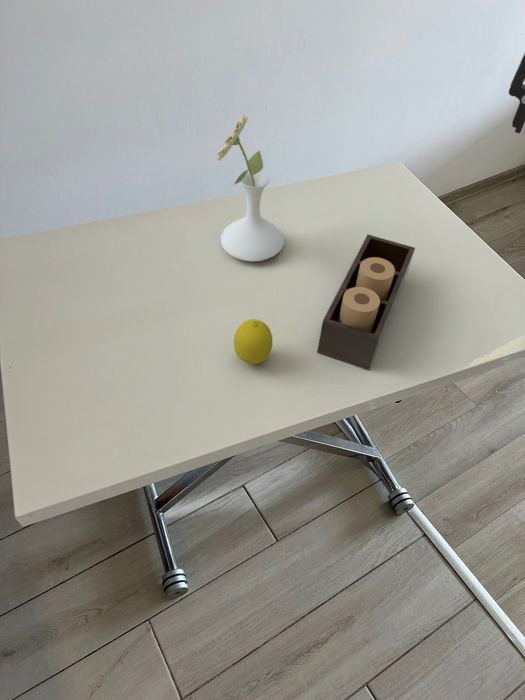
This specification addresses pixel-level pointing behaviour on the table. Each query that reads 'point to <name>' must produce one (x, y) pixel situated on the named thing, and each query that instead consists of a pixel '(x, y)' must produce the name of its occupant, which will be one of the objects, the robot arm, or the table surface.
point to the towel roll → (376, 276)
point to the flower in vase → (250, 210)
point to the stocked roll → (359, 308)
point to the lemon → (253, 341)
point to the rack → (362, 344)
